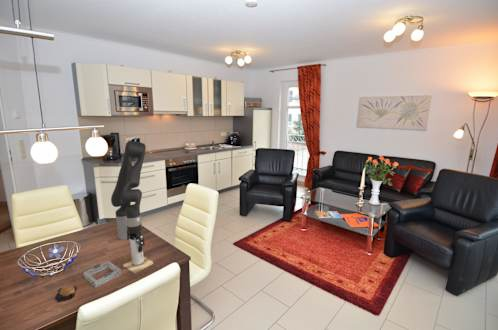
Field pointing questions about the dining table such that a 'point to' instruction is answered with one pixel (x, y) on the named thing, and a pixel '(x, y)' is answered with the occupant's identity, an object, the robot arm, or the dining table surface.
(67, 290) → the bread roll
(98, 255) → the dining table surface
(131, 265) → the square tan coaster
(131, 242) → the travel mug
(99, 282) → the square frame
